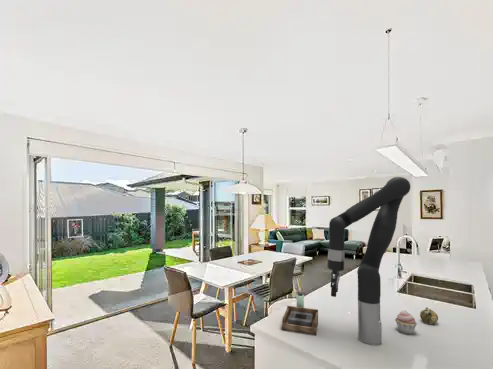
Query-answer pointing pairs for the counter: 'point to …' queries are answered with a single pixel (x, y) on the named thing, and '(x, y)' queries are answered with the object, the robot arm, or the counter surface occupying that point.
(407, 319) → the cupcake
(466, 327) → the counter surface
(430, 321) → the olive green pumpkin
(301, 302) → the mint green cylinder
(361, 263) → the robot arm
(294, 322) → the box
